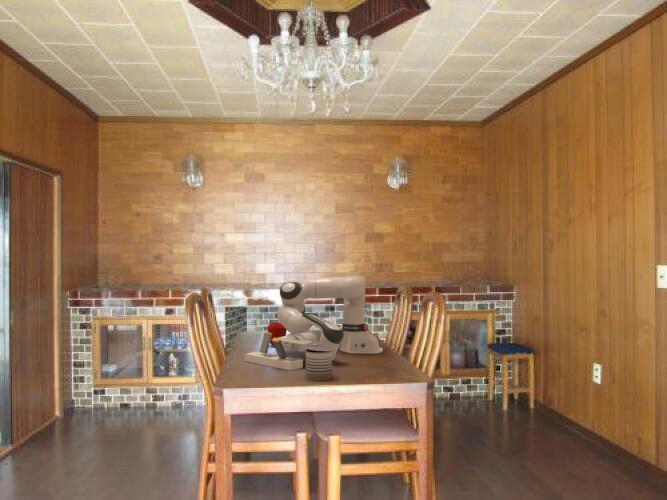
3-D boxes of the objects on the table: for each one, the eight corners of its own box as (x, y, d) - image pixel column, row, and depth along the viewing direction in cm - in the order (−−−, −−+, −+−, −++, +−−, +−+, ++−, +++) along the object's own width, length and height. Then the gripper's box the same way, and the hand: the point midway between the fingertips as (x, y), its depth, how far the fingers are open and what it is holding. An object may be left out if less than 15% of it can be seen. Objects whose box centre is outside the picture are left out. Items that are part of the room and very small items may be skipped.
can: (301, 375, 221) (301, 346, 221) (326, 372, 225) (326, 344, 225) (311, 381, 210) (311, 351, 210) (337, 378, 215) (337, 349, 215)
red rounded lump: (263, 346, 287) (263, 321, 287) (277, 343, 295) (277, 319, 295) (276, 348, 280) (276, 323, 280) (290, 346, 288) (290, 321, 288)
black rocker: (281, 355, 238) (274, 337, 235) (287, 356, 236) (280, 338, 232) (279, 357, 237) (271, 339, 234) (284, 358, 235) (277, 340, 231)
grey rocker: (261, 352, 248) (267, 332, 250) (267, 353, 245) (272, 333, 248) (259, 352, 247) (264, 331, 249) (264, 353, 244) (269, 332, 247)
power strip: (257, 358, 254) (257, 350, 254) (302, 367, 235) (302, 359, 235) (244, 361, 248) (244, 353, 248) (290, 370, 228) (290, 361, 228)
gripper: (318, 351, 239) (297, 356, 229) (287, 346, 253) (265, 351, 242) (318, 338, 239) (297, 342, 229) (287, 333, 253) (265, 337, 242)
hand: (280, 346), depth 236 cm, fingers closed, pressing on black rocker
